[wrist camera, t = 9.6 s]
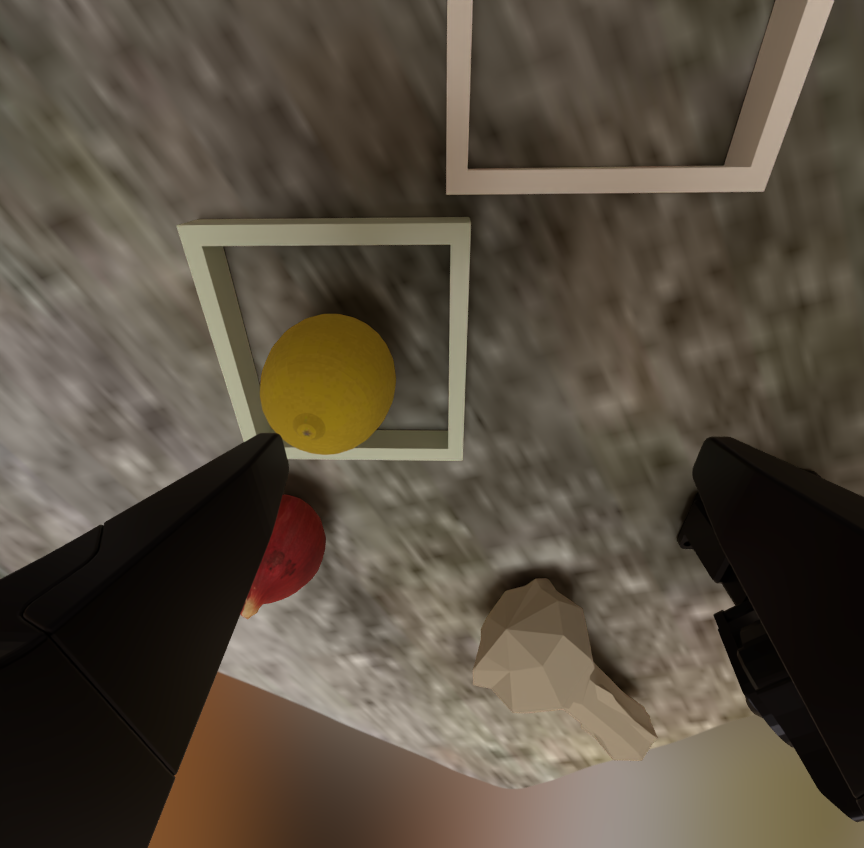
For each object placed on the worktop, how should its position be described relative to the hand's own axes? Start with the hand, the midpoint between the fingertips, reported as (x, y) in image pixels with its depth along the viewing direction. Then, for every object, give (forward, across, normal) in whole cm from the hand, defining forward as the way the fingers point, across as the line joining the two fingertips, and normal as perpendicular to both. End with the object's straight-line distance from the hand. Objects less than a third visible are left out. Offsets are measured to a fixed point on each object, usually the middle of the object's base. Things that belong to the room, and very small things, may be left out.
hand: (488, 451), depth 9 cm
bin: (+13, +6, +3) cm, 15 cm away
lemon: (+13, +6, +3) cm, 15 cm away
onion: (+13, +11, +14) cm, 22 cm away
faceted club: (+13, -10, +31) cm, 35 cm away
